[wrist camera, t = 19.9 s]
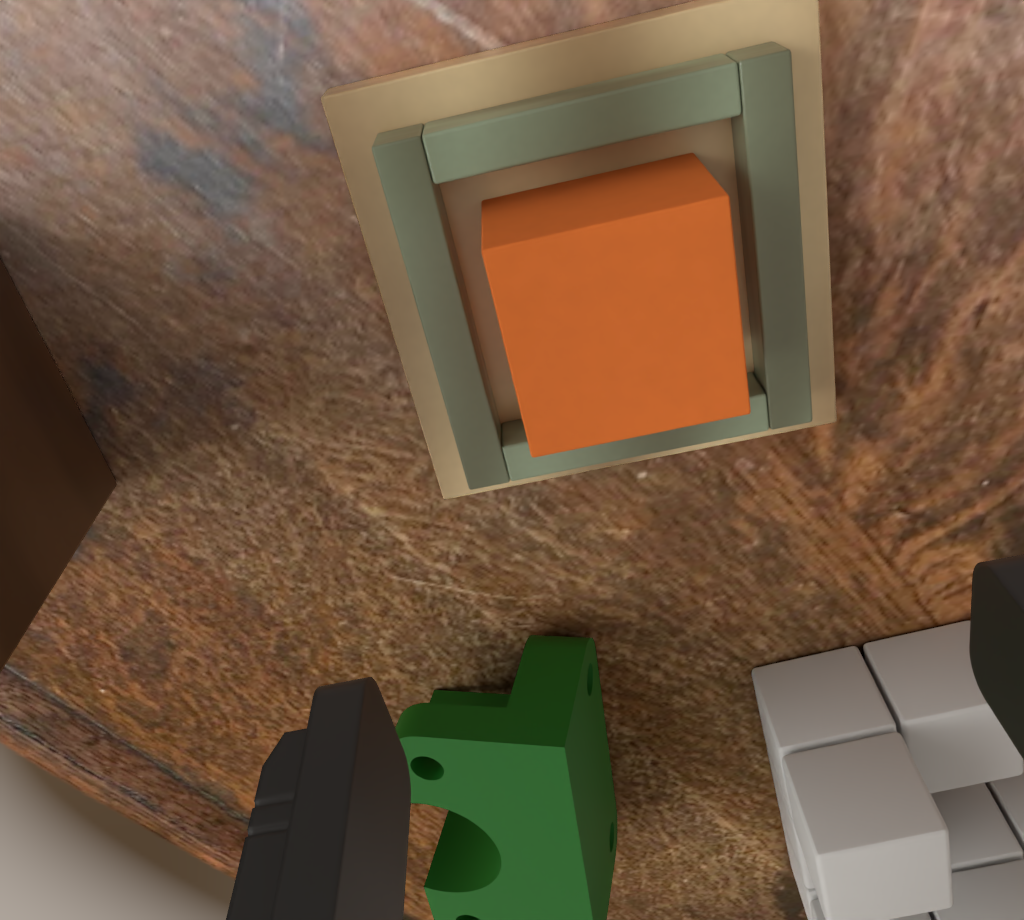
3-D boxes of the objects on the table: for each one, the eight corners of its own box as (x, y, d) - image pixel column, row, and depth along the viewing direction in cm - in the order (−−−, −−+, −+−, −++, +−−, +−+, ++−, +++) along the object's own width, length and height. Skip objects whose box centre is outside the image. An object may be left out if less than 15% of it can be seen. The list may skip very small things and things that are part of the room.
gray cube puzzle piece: (1079, 808, 39) (1205, 1001, 32) (790, 865, 40) (853, 1062, 34) (1089, 590, 33) (1248, 772, 26) (749, 666, 34) (815, 858, 28)
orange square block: (525, 387, 27) (532, 459, 23) (480, 200, 24) (480, 250, 21) (716, 347, 26) (751, 414, 23) (693, 151, 24) (729, 195, 20)
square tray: (444, 480, 30) (441, 528, 28) (326, 88, 24) (310, 109, 21) (824, 403, 29) (854, 448, 27) (803, -26, 23) (839, -17, 20)
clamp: (461, 594, 38) (372, 679, 29) (610, 598, 36) (562, 690, 28) (477, 870, 40) (397, 1028, 31) (619, 886, 38) (576, 1056, 29)
